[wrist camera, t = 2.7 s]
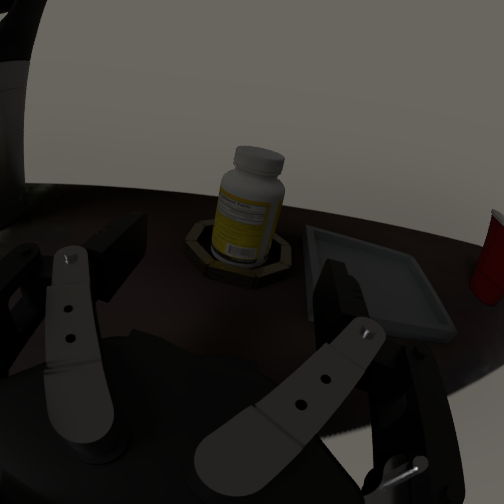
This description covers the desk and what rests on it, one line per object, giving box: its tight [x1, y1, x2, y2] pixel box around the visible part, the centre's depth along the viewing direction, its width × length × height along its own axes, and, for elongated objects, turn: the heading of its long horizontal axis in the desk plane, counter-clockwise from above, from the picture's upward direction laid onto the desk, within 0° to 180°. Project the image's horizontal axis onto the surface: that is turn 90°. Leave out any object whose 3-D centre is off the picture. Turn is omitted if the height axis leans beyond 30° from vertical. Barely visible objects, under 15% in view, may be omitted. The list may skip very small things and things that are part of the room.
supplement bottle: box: [211, 146, 285, 269], centre depth 24 cm, size 5×5×10 cm
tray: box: [302, 225, 458, 344], centre depth 26 cm, size 15×14×2 cm
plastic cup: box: [470, 209, 504, 305], centre depth 28 cm, size 11×11×12 cm
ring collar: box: [183, 219, 291, 289], centre depth 26 cm, size 10×10×1 cm
